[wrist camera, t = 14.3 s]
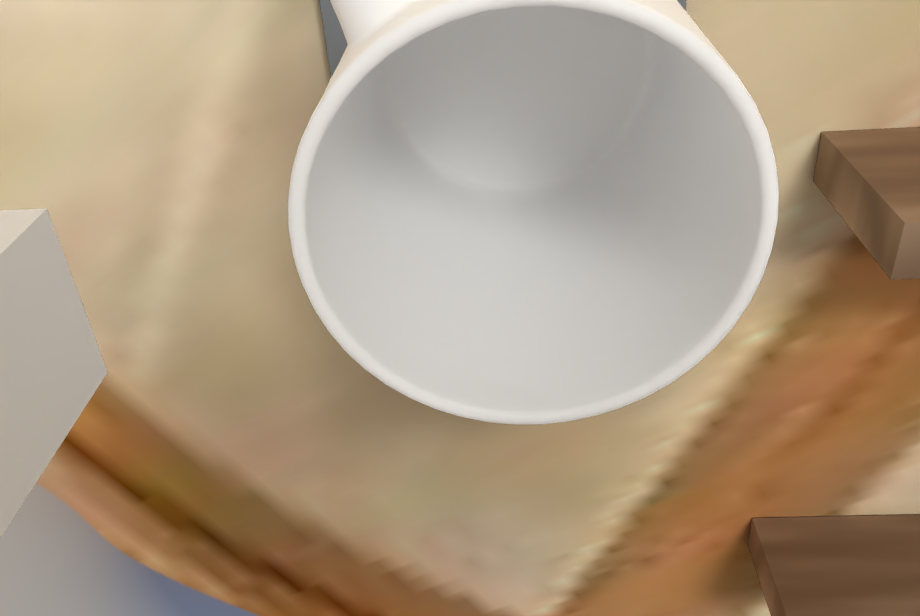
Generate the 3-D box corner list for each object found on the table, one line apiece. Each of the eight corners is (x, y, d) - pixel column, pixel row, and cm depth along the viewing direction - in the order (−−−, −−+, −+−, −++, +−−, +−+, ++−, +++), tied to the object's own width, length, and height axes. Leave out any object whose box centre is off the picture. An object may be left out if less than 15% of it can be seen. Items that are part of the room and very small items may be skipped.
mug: (484, -325, 19) (480, -406, 10) (721, 97, 24) (859, 294, 15) (214, -84, 22) (23, 20, 13) (477, 247, 27) (471, 486, 18)
